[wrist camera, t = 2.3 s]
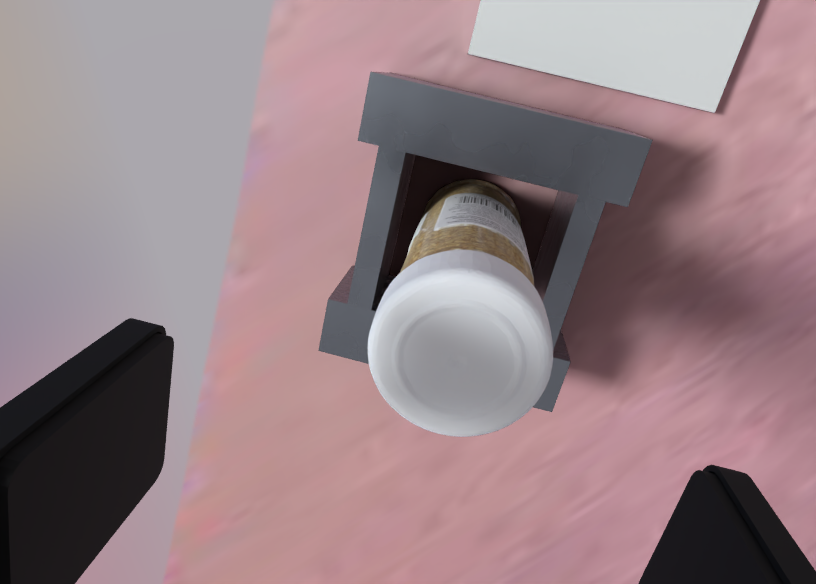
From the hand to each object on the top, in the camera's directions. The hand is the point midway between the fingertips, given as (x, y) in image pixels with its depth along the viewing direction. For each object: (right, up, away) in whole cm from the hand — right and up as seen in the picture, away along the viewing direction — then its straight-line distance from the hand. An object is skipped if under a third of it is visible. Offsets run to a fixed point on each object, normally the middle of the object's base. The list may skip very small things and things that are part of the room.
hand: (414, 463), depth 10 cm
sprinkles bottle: (+3, +6, +16) cm, 18 cm away
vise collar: (+3, +6, +16) cm, 17 cm away
